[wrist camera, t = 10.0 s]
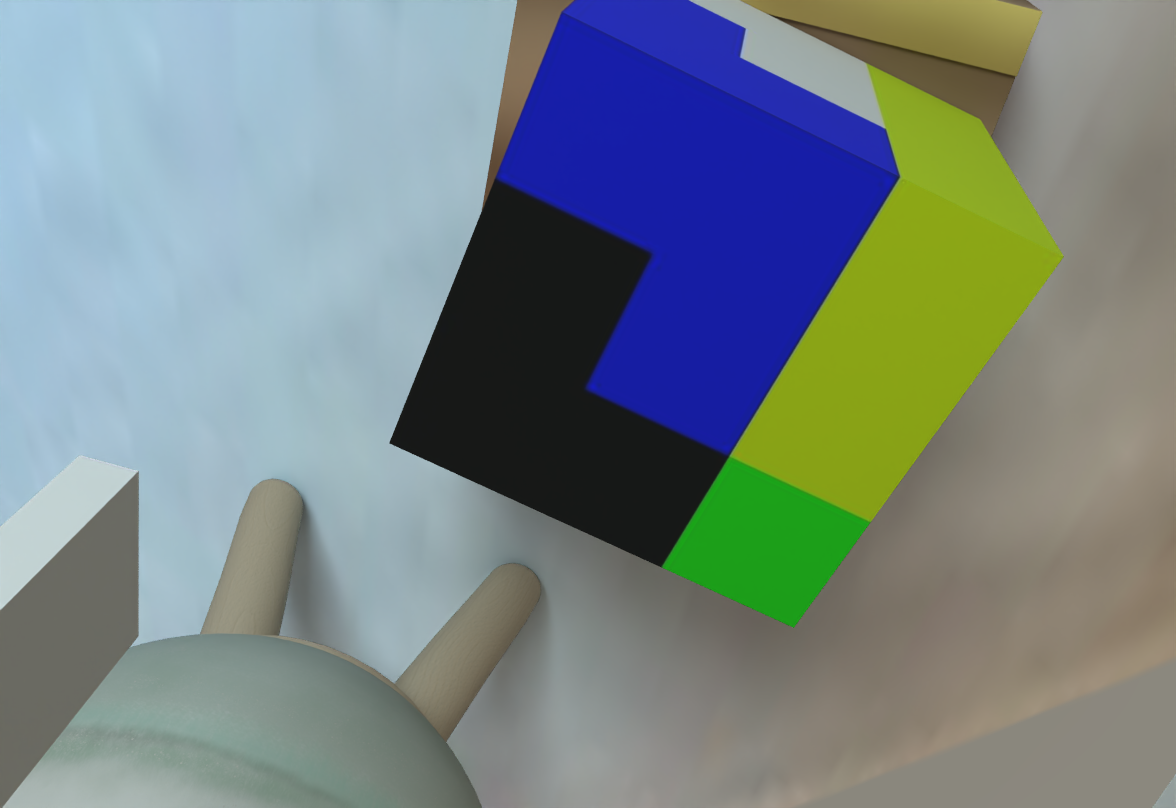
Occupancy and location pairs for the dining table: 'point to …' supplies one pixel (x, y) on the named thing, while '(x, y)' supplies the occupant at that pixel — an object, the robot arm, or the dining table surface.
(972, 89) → the dock
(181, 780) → the planter
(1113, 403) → the dining table surface
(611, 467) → the puzzle toy
